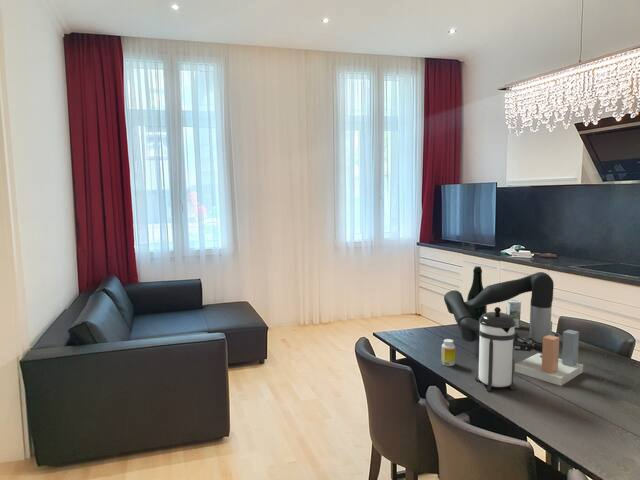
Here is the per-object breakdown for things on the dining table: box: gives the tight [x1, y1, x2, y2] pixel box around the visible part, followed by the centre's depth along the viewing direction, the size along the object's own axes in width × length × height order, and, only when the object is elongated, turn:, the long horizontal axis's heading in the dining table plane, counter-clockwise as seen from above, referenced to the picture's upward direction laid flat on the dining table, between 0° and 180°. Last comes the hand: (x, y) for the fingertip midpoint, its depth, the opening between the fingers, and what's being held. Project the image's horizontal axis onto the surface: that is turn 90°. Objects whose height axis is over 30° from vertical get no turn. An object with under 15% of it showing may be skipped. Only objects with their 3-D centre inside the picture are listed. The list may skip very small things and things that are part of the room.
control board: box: [514, 352, 584, 387], centre depth 182 cm, size 18×20×4 cm
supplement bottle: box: [440, 338, 456, 367], centre depth 191 cm, size 6×6×10 cm
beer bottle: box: [466, 265, 488, 321], centre depth 241 cm, size 10×10×33 cm
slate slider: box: [561, 329, 580, 366], centre depth 181 cm, size 4×5×13 cm
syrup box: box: [505, 299, 522, 329], centre depth 242 cm, size 6×6×14 cm
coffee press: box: [474, 306, 517, 392], centre depth 170 cm, size 17×16×30 cm
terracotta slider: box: [541, 335, 560, 373], centre depth 175 cm, size 4×5×13 cm
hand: (545, 349), depth 176 cm, fingers closed
